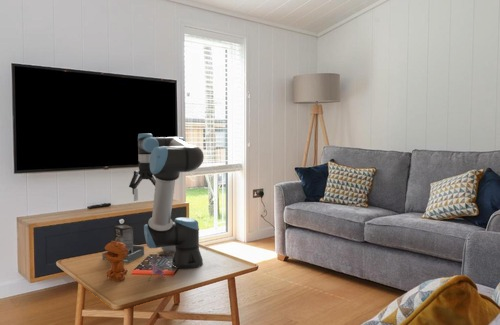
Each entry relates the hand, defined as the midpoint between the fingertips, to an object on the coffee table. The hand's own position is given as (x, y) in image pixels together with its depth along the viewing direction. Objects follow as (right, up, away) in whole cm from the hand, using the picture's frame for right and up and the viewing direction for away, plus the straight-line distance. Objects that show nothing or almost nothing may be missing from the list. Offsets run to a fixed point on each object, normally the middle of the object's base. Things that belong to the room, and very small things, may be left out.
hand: (146, 201), depth 238 cm
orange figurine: (-5, -32, -39) cm, 51 cm away
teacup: (+12, -28, +7) cm, 32 cm away
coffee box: (-11, -29, -6) cm, 31 cm away
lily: (+14, -32, -41) cm, 54 cm away
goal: (-11, -29, -6) cm, 32 cm away
